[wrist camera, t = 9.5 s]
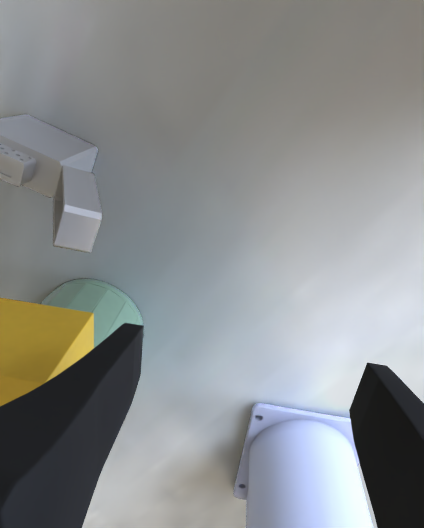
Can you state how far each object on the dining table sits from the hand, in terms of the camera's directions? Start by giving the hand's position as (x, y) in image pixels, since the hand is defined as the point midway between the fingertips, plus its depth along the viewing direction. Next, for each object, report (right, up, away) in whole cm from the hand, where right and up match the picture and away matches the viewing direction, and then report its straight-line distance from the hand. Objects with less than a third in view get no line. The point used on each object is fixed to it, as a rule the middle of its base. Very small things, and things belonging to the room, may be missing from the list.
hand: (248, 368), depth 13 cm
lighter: (-8, +9, +8) cm, 15 cm away
